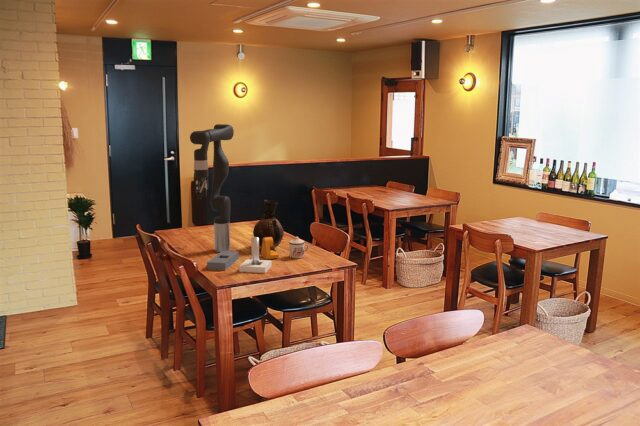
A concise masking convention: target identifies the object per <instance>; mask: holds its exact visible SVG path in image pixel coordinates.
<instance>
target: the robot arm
mask: <svg viewBox="0 0 640 426" xmlns="http://www.w3.org/2000/svg"><path fill="white" fill-rule="evenodd" d="M234 132H235V131H234V127H233V126H232V125H230V124H225V123H224V124H220V123H219V124H217V123H216V124H215V125H214V127H213V128H209V129H205V130H195V131H192V132H191V133H190V135H189V139H190V142H191V143H192V144H193V145H201V147H200V148H196V149H194V151H193V177H194V178H196V180H194V192H195V193H196V199H197V200H201V199H202V197H203V198H206V197H208V189H209V178H208V177H209V162H208V151H209V146H210V143H212V142H213V143H212V144H213V161H212V163H213V164H212V185H211V186H212V187H211V193H210V194H211V195H210V202H209V203H210V208H211V210H212V211H214V212H220V213H221V214H220V215H219V216H216V217H214V218H213V232H214V233H213V236H214V240H213V241H214V252H216V253H220V252H221V251H231V229H230V226H231V225H230V224H231V223H230V220H231V198H230V197H229V196H226V195H220V192H221V189H222V186H223V184H224V183H225V181H226V179H227V178H228V176H229V172H230V171H229V168H230V167H229V166H230V164H229V160H228V157H227V155H226V153H225V152H224V151H223V147H222V141H230V140H232V139H233V138H234Z"/></svg>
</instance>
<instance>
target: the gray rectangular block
mask: <svg viewBox="0 0 640 426" xmlns="http://www.w3.org/2000/svg"><path fill="white" fill-rule="evenodd" d="M239 254H240V253H239V251H231V250H230V251H221V252H218V253H217V254H215V255H214V256H213V257H212V258H210V260H208V261H207V263H206V264H207V265H206V267H207V270H211V271H212V270H213V271H226V270H228V269H229V267H231V266H232V265H233V264H235V262H237V261H238V260H239V258H240V256H239Z"/></svg>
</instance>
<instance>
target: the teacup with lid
mask: <svg viewBox="0 0 640 426" xmlns="http://www.w3.org/2000/svg"><path fill="white" fill-rule="evenodd" d="M288 244H289V248H288V249H289V254H288V257H289V258H291V257H292V258H291V259H301V258H300V257H303V258H305V253H306V252H308V250H309V249H310V248H309V247H310V246H309V244H308V243H305V240H303V239H300V238H299V236H296V237H295V238H293V239H291V240H289V241H288ZM305 246H306V249H305Z"/></svg>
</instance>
